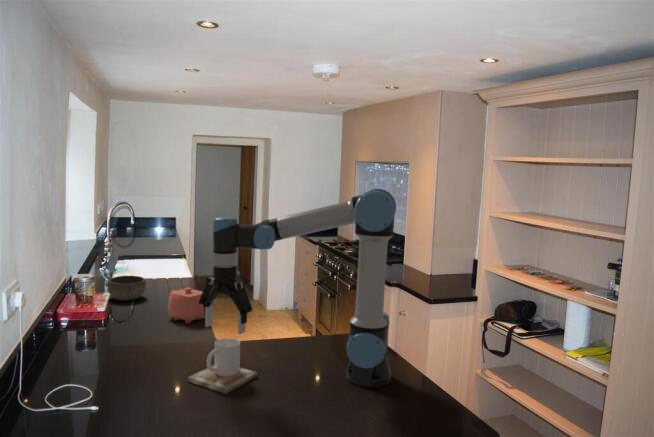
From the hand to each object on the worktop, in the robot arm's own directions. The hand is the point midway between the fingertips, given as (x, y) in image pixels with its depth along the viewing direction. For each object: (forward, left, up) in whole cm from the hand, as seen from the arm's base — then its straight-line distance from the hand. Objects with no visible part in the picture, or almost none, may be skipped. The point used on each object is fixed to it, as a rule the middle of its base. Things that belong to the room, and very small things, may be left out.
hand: (224, 329), depth 172 cm
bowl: (+102, -48, -17) cm, 114 cm away
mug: (+1, 0, -16) cm, 16 cm away
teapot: (+54, -41, -17) cm, 70 cm away
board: (0, 0, -17) cm, 17 cm away
